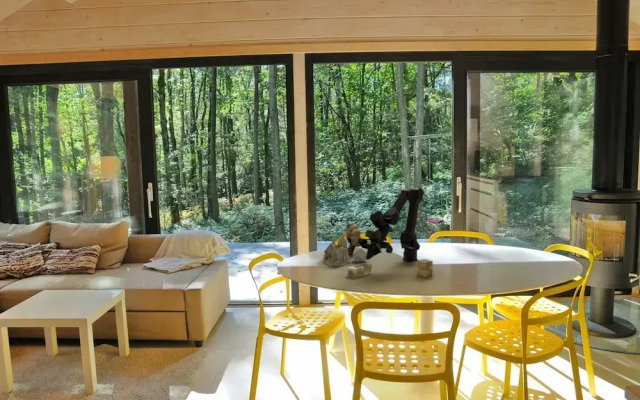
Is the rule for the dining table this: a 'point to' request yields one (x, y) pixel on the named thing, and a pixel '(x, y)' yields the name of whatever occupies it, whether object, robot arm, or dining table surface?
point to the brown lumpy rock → (353, 238)
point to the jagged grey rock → (337, 253)
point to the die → (360, 254)
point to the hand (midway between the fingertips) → (367, 259)
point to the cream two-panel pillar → (359, 270)
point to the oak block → (424, 267)
